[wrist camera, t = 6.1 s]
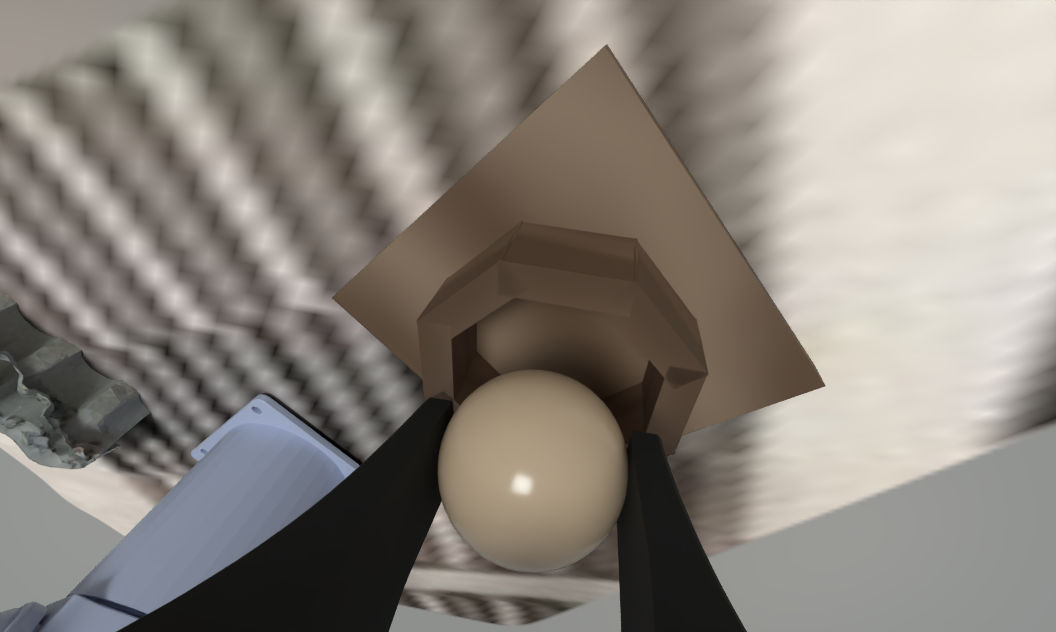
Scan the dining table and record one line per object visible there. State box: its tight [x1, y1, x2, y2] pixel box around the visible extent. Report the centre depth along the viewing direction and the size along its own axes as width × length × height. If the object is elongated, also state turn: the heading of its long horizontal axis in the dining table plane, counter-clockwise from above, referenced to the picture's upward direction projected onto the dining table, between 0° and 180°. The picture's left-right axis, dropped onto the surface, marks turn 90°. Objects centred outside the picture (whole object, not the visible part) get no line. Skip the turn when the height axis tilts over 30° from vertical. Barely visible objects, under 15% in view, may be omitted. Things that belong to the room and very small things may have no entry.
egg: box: [438, 369, 629, 572], centre depth 11 cm, size 5×5×5 cm
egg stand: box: [332, 45, 825, 456], centre depth 14 cm, size 12×12×4 cm
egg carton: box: [0, 291, 151, 469], centre depth 23 cm, size 11×8×4 cm
